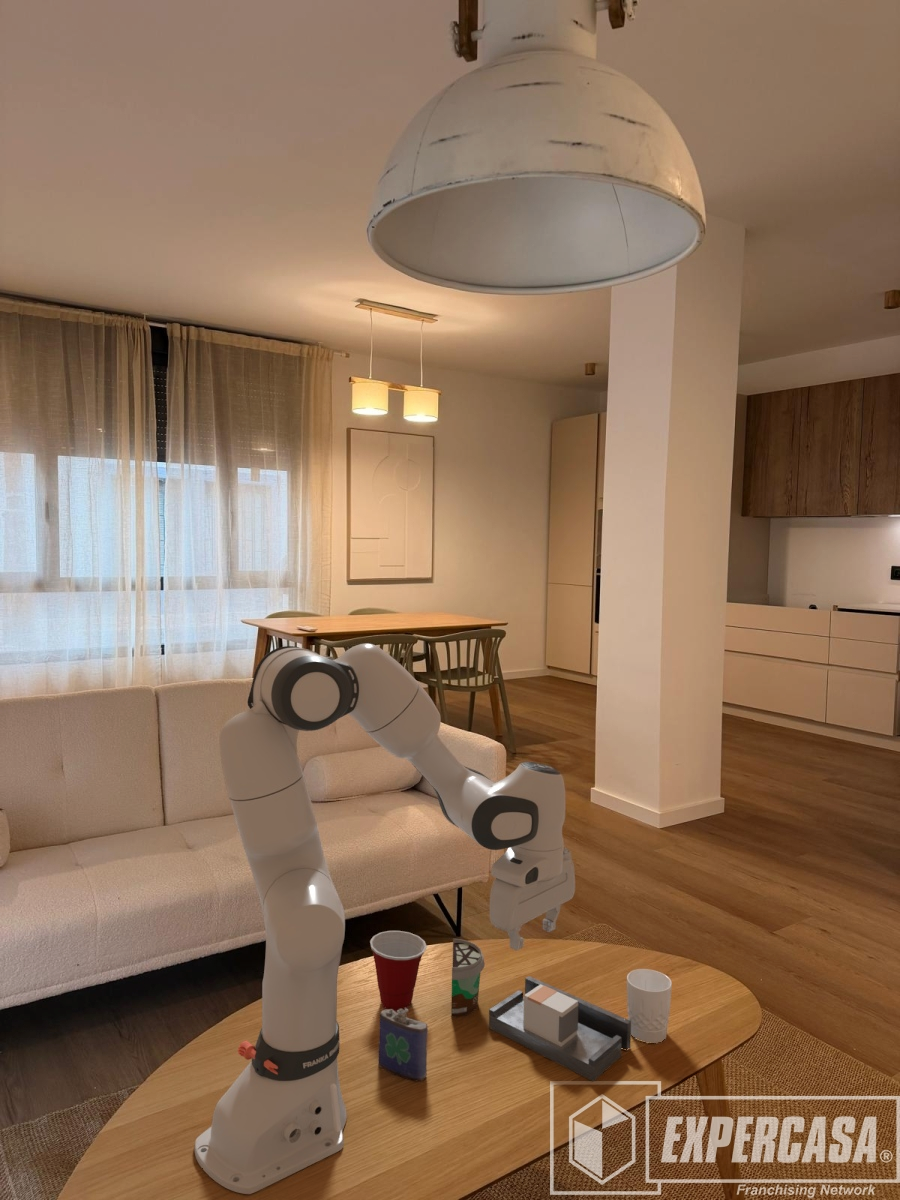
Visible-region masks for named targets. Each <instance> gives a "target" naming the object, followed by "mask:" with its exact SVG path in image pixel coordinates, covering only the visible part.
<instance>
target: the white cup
mask: <svg viewBox="0 0 900 1200" xmlns="http://www.w3.org/2000/svg"><path fill="white" fill-rule="evenodd" d="M672 985H673V982H672V980H671V978H670V977H669V976H668V975H666V974H664V973H663V972H660V971H657V970H655V969H650V968H637V969H633V970H631V971H630V972H629V973H627V976H626V993H627V994H626V998H627V999H626V1004H627V1016H628V1018H627V1019H628V1020H630V1021H631V1035H632V1036H634V1037H635V1038H637V1039H639V1040H642V1041H645V1042H649V1043H650V1042H651V1043H656V1044H658V1043H657V1042H661V1043H662V1041H663V1040H664V1039H665V1040H666V1039H667V1034H668V1024H669V1022H670V1021H669V1019H670V1010H671V1000H672V988H673V987H672ZM632 1036H631V1037H632ZM635 1038H634V1039H635ZM665 1040H664V1041H665ZM664 1041H663V1042H664Z"/></svg>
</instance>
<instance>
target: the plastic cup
mask: <svg viewBox="0 0 900 1200" xmlns="http://www.w3.org/2000/svg"><path fill="white" fill-rule="evenodd" d="M369 943H370V944H369V945H370V948H371V951H372V954H373V960H374V966H375V973H376V981H377V986H378V990H379V998H380V1002H381V1007H383V1008H384V1009H390V1010H391V1009H393V1010H394V1011H395V1012H397V1010H399V1009H403V1010H406V1009H405V1008H407V1009H408V1008H409V1007H410V1006H411V1003H412V1001H413V997H414V992H415V987H416V983H417V977H418V973H419V967H420V963H421V962H422V961H421V960H422V957H423V954H424V955H425V952H426V950H427V943H426V941H425V940H424V939H423V938H422V937H420V936H419V935H417V934H413V932H412V933H411V932H409V931H403V930H402V931H401V930H387V931H386V930H385V931H382V932H378V933H377V934H375V935H373V936H372V938H371V939H370V940H369Z"/></svg>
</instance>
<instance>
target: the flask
mask: <svg viewBox="0 0 900 1200" xmlns="http://www.w3.org/2000/svg"><path fill="white" fill-rule="evenodd" d="M407 1013H409V1009H408V1008H405V1009H399V1010H397V1011H394V1010H393V1009H391V1010H390V1009H386V1008H384V1009H382V1010H381V1011H380V1013H379V1029H378V1030H379V1037H378V1038H379V1039H378V1040H379V1042H378V1067H379V1068H381V1069H383V1070H385V1071H386V1072H387V1073H389V1074H392V1075H395V1076H398V1077H401V1078H403V1079H406V1080H408V1081H409V1080H410V1081H411V1082H412V1081H413V1082H419V1083H421V1082H424V1081H425V1080H426V1078H427V1073H428V1070H427V1063H428V1062H427V1056H428V1053H427V1049H428V1045H427V1044H428V1043H427V1042H428V1031H429V1030H428V1025H427V1023H426V1022H424V1021H420V1020H416V1019H413V1018H409V1017H407V1016H408V1014H407Z"/></svg>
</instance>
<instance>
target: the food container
mask: <svg viewBox="0 0 900 1200" xmlns="http://www.w3.org/2000/svg"><path fill="white" fill-rule="evenodd" d="M484 959H485V958H484V955H483V952H482V949H481V948H480V947H479V946H478V945H476V944H475V943H474V942H471V941H468V940H467V939H466V940H465V939H460V938H452V967H451V1001H450V1002H451V1004H450V1005H451V1008H450V1009H451V1010H450V1011H451V1012H450V1015H451V1018H459V1017H465V1016H468V1015H470V1014H472V1013H473V1012H474V1011H476V1009H477V1007H478V1004H479V995H480V994H479V992H480V991H479V990H480V983H481V982H480V980H481V972H482V971H483V970H484V968H485V960H484Z"/></svg>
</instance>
